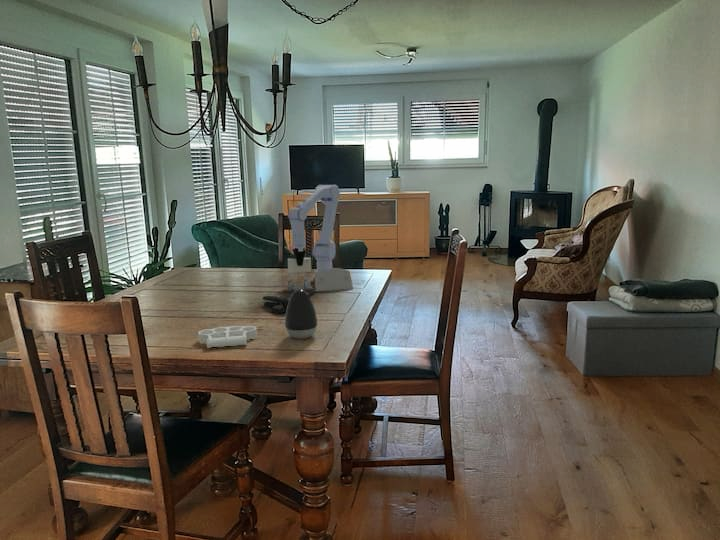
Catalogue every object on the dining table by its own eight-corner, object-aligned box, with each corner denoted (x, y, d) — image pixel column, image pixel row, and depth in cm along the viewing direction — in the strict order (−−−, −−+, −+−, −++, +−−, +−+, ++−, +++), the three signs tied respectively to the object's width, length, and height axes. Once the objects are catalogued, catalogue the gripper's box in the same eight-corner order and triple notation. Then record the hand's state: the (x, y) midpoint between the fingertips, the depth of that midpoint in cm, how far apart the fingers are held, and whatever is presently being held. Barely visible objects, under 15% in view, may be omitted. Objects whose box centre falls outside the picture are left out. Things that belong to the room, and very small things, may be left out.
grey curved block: (315, 291, 234) (313, 268, 235) (314, 292, 238) (313, 269, 240) (353, 288, 236) (352, 266, 237) (352, 290, 241) (350, 267, 242)
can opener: (295, 312, 202) (294, 297, 201) (278, 315, 198) (277, 300, 197) (273, 303, 216) (272, 289, 215) (256, 306, 212) (256, 292, 211)
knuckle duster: (196, 352, 162) (200, 337, 176) (257, 346, 166) (256, 332, 180) (195, 341, 162) (199, 327, 176) (257, 336, 165) (256, 322, 179)
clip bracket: (285, 289, 239) (285, 280, 238) (310, 287, 241) (310, 278, 241) (287, 292, 232) (286, 283, 231) (312, 290, 235) (312, 281, 234)
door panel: (288, 272, 243) (287, 258, 242) (310, 270, 245) (310, 257, 244) (288, 273, 240) (288, 259, 239) (311, 272, 242) (311, 258, 241)
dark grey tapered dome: (322, 338, 170) (320, 291, 167) (289, 343, 167) (287, 295, 164) (313, 329, 179) (311, 284, 177) (282, 333, 176) (280, 288, 173)
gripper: (287, 233, 246) (289, 263, 248) (290, 237, 232) (292, 268, 235) (303, 232, 247) (304, 262, 250) (307, 236, 233) (308, 267, 236)
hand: (299, 265), depth 242 cm, fingers closed on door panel, 2 cm apart
